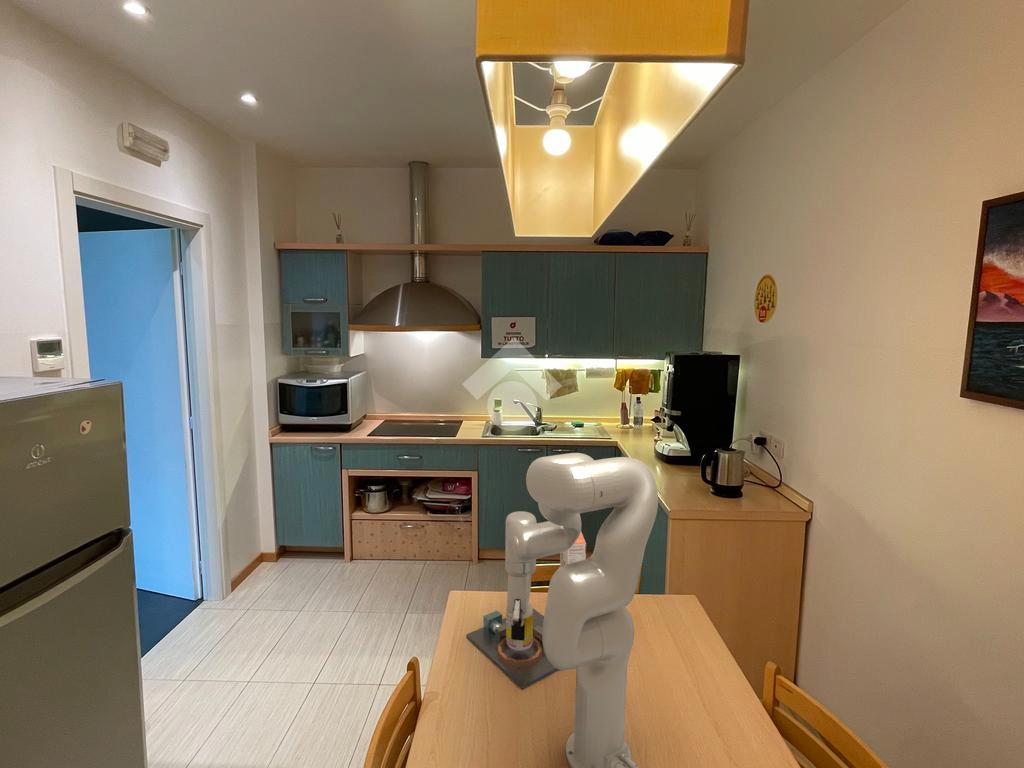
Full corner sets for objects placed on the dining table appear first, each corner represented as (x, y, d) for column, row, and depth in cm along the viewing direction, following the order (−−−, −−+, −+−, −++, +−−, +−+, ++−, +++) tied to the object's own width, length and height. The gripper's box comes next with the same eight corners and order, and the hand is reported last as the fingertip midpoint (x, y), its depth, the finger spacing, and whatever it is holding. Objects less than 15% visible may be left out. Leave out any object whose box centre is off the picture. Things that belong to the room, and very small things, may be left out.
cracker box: (558, 586, 166) (559, 522, 163) (577, 585, 166) (579, 522, 163) (564, 611, 152) (566, 542, 149) (585, 610, 152) (587, 542, 150)
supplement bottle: (533, 636, 135) (534, 589, 133) (531, 653, 128) (532, 603, 127) (507, 634, 136) (507, 587, 134) (504, 651, 129) (505, 602, 127)
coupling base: (590, 653, 133) (591, 635, 133) (521, 690, 120) (522, 670, 120) (531, 610, 153) (531, 594, 152) (466, 637, 139) (466, 620, 139)
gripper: (510, 546, 138) (510, 609, 141) (499, 579, 121) (499, 650, 124) (539, 548, 137) (538, 612, 139) (532, 582, 120) (531, 654, 122)
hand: (519, 629), depth 132 cm, fingers closed on supplement bottle, 6 cm apart
